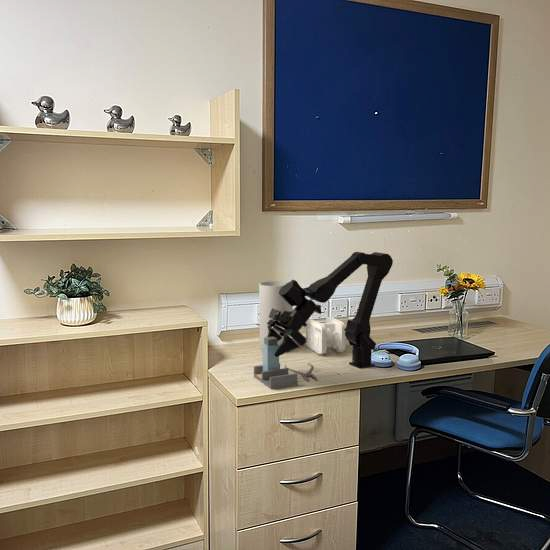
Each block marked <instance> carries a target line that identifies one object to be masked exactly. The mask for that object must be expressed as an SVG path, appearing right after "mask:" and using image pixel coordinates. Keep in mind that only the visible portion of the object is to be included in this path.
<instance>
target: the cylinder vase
mask: <svg viewBox="0 0 550 550" xmlns="http://www.w3.org/2000/svg"><path fill="white" fill-rule="evenodd" d="M289 282H290V281H285V280H284V281H279V280H278V281H277V280H273V281H271V280H270V281H268V280H267V281H262V282H259V283H258V288H259V289H258V297H259V298H258V300H259V305H258V306H259V309H258V310H259V349H260V350H261V351H263V347H262V344H263V343H264V338H265V337H267V336H268V333H269V331H268V327H267V326H268V325H267V323H268V322H269V320H270V319H272V318H269V315H270V312H271V310H272V308H273V309H276V310H278V311H282V310H286V311H291V312H292V311H293V310H294V306H290V305H289V304H288V303H287V302H286V301H285V300H284V299H283V298H282V297H281V296H280V295H279V291H280V289H281V287H282V286H284V285H285V284H287V283H289ZM281 337H282V339H281V340H279V341H278V342H277V344H278V345H279V346H280V345H281V343H282V342H283V340H284V336H281Z"/></svg>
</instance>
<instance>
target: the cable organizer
mask: <svg viewBox="0 0 550 550" xmlns="http://www.w3.org/2000/svg"><path fill="white" fill-rule="evenodd" d="M306 324H307V326H306V327H305V338H306V343H305V345H306V346H307V348H308V349H309V350H311V351H314V352H315V353H316V354H317V355H319V356H322V355H324V354H326V352H327V351H328V348H330V347H331V349H333V350H335V351H336V352H338V353H342V352H345V350H346V337H345V331H344V329H345V328H346V325H345V322H344V321H341V320H339V319H337V318H335V317H332V316H326V318H325V322H322V323H321V322H319V321H317V320H315V319H313V318H309V319H308V320H307V322H306Z"/></svg>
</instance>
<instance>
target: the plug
mask: <svg viewBox="0 0 550 550" xmlns="http://www.w3.org/2000/svg"><path fill="white" fill-rule="evenodd" d="M262 347H263V350H262V365H263V371H269V370H276V369H279V363H280V356H278V357H276V356H275V355H274V354H275V352H276V351H277V349H278V348H279V345H278V344H277V338H275V337H265V338H264V343H263V344H262Z"/></svg>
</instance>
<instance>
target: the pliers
mask: <svg viewBox="0 0 550 550" xmlns="http://www.w3.org/2000/svg"><path fill="white" fill-rule="evenodd" d="M307 365H308V366H310V369H308V371H307V372H301V371H300V370H299V371H298V370H295V369H292V368H289V367H288V366H287V364H284V366H283V367H284V368H288V369H289V372H293V373H294V374H295V373H297V374H299V375H300V376H301V377H302V379H303V380H304V381H306V382H308V383H309V382H310V379H309V378H311V379H312V380H314V381H316V382H318V378H317V376H316V375H315V374H313V373H312V371H313V369H314V366H313V365H312V364H311V363H309V362H308V363H307Z"/></svg>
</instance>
